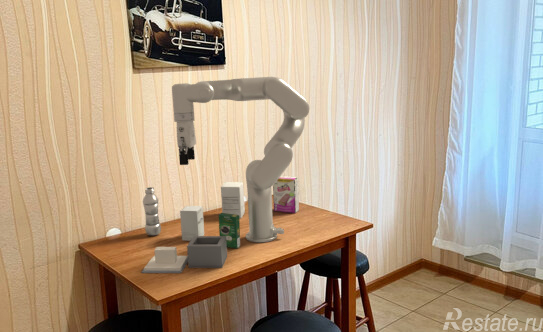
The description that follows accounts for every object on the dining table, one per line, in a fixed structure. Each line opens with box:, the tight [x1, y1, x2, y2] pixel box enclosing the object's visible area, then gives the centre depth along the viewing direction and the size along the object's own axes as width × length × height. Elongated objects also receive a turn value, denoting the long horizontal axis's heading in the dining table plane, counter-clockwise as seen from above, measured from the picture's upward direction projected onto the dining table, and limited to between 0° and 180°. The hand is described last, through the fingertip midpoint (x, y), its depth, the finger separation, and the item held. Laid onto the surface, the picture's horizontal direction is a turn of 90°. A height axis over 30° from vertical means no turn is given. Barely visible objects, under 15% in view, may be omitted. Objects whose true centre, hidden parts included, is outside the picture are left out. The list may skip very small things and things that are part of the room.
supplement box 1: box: [179, 205, 205, 242], centre depth 208 cm, size 7×7×13 cm
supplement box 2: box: [220, 181, 246, 219], centre depth 235 cm, size 9×9×15 cm
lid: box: [143, 246, 188, 271], centre depth 182 cm, size 13×11×6 cm
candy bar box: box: [272, 175, 300, 214], centre depth 239 cm, size 11×5×16 cm, turn 68°
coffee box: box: [218, 212, 241, 250], centre depth 197 cm, size 8×3×13 cm, turn 66°
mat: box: [141, 259, 188, 274], centre depth 183 cm, size 14×13×1 cm
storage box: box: [186, 235, 228, 269], centre depth 183 cm, size 12×10×8 cm
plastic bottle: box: [142, 186, 162, 236], centre depth 213 cm, size 6×7×20 cm
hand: (187, 162), depth 195 cm, fingers open, 9 cm apart
